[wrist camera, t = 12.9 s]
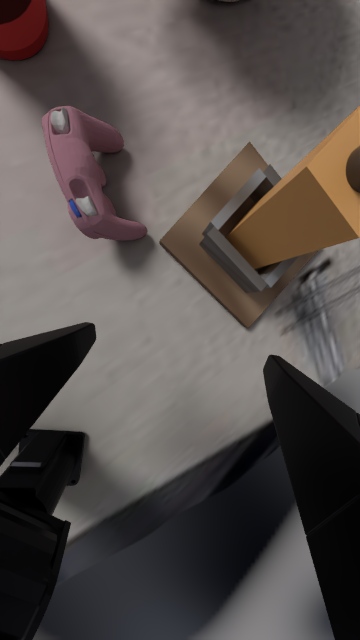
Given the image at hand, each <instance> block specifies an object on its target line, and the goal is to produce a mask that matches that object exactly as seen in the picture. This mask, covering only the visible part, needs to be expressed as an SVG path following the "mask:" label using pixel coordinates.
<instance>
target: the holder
mask: <svg viewBox="0 0 360 640" xmlns="http://www.w3.org/2000/svg"><path fill="white" fill-rule="evenodd" d="M280 180H281V178H280V176H279V175H278V174H277V172H276V171H275V170H274V169H273V167H272V166H271V165H269V166H268V165H267V163H266V162H265V161H264V160H263V158H262V157H261V156H260V154H259V153H258V152H257V151H256V149H255V148H254V147H253V145H252V144H251V143H250V142H249V143H248V144H247V145H246V146H245V147H244V148H243V149H242V150H241V152H240V153H239V154H238V155H237V156H236V157H235V158H234V159H233V160H232V162H231V163H230V164H229V165H228V166H227V167H226V168H225V169H224V170H223V171H222V173H221V174H220V175H219V176H218V177H217V178H216V179H215V180H214V181H213V182H212V184H211V185H210V186H209V187H208V188H207V189H206V190H205V191H204V192H203V194H202V195H201V196H200V197H199V198H198V199H197V200H196V201H195V202H194V203H193V205H192V206H191V207H190V208H189V209H188V210H187V211H186V212H185V213H184V215H183V216H182V217H181V218H180V219H179V220H178V221H177V222H176V223H175V224H174V226H173V227H172V228H171V229H170V230H169V231H168V232H167V233H166V234H165V236H164V237H163V238H162V239H161V240H160V245H161V246H162V247H163V248H165V249H166V250H167V251H168V252H169V253H170V254H171V255H172V256H173V257H174V258H175V259H176V260H177V261H178V262H179V263H180V264H181V265H182V266H183V267H184V268H185V269H186V270H187V271H188V272H189V273H190V274H191V275H192V276H193V277H194V278H195V279H196V280H197V281H198V282H199V283H200V284H201V285H202V286H203V287H204V288H205V289H206V290H207V291H208V292H209V293H210V294H211V295H212V296H213V297H214V298H215V299H216V300H217V301H218V302H219V303H220V304H221V305H222V306H223V307H224V308H226V309H227V310H228V311H229V312H230V313H231V314H232V315H233V316H234V317H235V318H236V319H237V320H238V321H239V322H240V323H241V324H242V325H243V326H244V327H246V328H249V327H250V326H251V325H252V323H253V322H254V321H255V320H256V319H257V318H258V317H259V316H260V315H261V313H262V312H263V311H264V310H265V309H266V308H267V307H268V306H269V305H270V303H271V302H272V301H273V300H274V299H275V298H276V297H277V296H278V295H279V293H280V292H281V291H282V290H283V289H284V288H285V287H286V286H287V285H288V283H289V282H290V281H291V280H292V279H293V278H294V277H295V276H296V275H297V273H298V272H299V271H300V270H301V269H302V268H303V267H304V266H305V265H306V263H307V262H308V261H309V260H310V259H311V258H312V257H313V256H314V255H315V253H316V252H317V251H318V250H316V251H313V252H310V253H306V254H303V255H300V256H296V257H293V258H290V259H286V260H283V261H280V262H276V263H273V264H270V265H266V266H263V267H260V268H256V269H253V268H252V266H251V265H250V264H249V263H248V262H247V261H246V260H245V259H244V258H243V257H242V256H241V254H240V253H239V252H238V251H237V250H236V249H235V248H234V247H233V246H232V245H231V244H230V243H229V241H228V240H227V239H226V238H225V236H226V235H227V234H228V233H229V232H230V231H231V230H232V229H233V228H234V226H235V225H236V224H237V223H238V222H239V221H240V220H241V219H242V218H243V216H244V215H245V214H246V213H247V212H248V211H249V210H250V209H251V208H252V207H253V206H254V205H255V204H256V203H257V202H258V201H259V200H260V199H261V198H262V197H263V196H265V195H266V194H267V193H268V192H269V191H270V190H271V189H272V188H273V187H274V186H275V185H276V184H277V183H278V182H279V181H280Z"/></svg>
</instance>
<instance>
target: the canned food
mask: <svg viewBox="0 0 360 640" xmlns="http://www.w3.org/2000/svg"><path fill="white" fill-rule="evenodd" d="M48 27H49V22H48V14H47V8H46V3H45V0H0V58H2V59H8V60H23V59H26V58H29V57H31V56H33V55H35V54H36V53H37V52H38V51H39V50H40V49H41V48H42V46H43V45H44V43H45V41H46V38H47V35H48Z"/></svg>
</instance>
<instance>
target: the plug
mask: <svg viewBox="0 0 360 640" xmlns="http://www.w3.org/2000/svg"><path fill="white" fill-rule="evenodd" d="M359 237H360V106H359V107H358V108H357V109H355V110H354V111H353V112H352V113H351V114H350V115H349V116H348V117H347V118H346V119H345V120H344V121H343V122H342V123H341V124H340V125H339V126H338V127H336V128H335V129H334V130H333V131H332V132H331V133H330V134H329V135H328V136H327V137H326V138H325V139H324V140H323V141H322V142H321V143H320V144H318V145H317V146H316V147H315V148H314V149H313V150H312V151H311V152H310V153H309V154H308V155H307V156H306V157H305V158H304V159H303V160H302V161H300V162H299V163H298V164H297V165H296V166H295V167H294V168H293V169H292V170H291V171H290V172H289V173H288V174H287V175H286V176H285V177H284V178H283V179H281V180H280V181H279V182H278V183H277V184H276V185H275V186H274V187H273V188H272V189H271V190H270V191H269V192H268V193H267V194H266V195H265V196H263V197H262V198H261V199H260V200H259V201H258V202H257V203H256V204H255V205H254V206H253V207H252V208H251V209H250V210H249V211H248V212H247V213H246V214H245V215H244V216H243V218H242V219H241V220H240V221H239V222H238V223H237V224H236V225H235V226H234V228H233V229H232V230H231V231H230V232H229V233H228V234H227V235H226V236H225V238H226V239H227V240H228V241H229V243H230V244H231V245H232V246H233V247H234V248H235V249H236V250H237V251H238V252H239V253H240V254H241V256H242V257H243V258H244V259H245V260H246V261H247V262H248V263H249V264H250V265H251V266H252V268H253V269H256V268H260V267H263V266H266V265H270V264H273V263H276V262H280V261H283V260H286V259H290V258H293V257H296V256H300V255H303V254H306V253H310V252H313V251H316V250H320V249H323V248H326V247H330V246H333V245H336V244H340V243H343V242H346V241H350V240H353V239H356V238H359Z"/></svg>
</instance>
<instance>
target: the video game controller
mask: <svg viewBox="0 0 360 640" xmlns="http://www.w3.org/2000/svg"><path fill="white" fill-rule="evenodd" d="M42 128H43V130H44V133H45V142H46V147H47V151H48V155H49V158H50V162H51V165H52V168H53V170H54V173H55V176H56V178H57V181H58V183H59V185H60V188H61V190H62V192H63V194H64V196H65V198H66V200H67V202H68V210H69V214H70V216H71V219H72V220H73V222H74V223H75V225H76V226H77V228H78V229H79V230H80V231H81V232H82V233H83V234H85V235H86V236H88V237H90V238H93V239H98V238H105V239H112V240H135V239H140V238H142V237H143V236H145V234H146V233H147V228H146V227H145V226H144V225H142V224H141V223H139V222H134V221H130V220H125V219H122V218H119V217H116V212H115V209H114V207H113V205H112V203H111V201H110V200H109V198H108V197H107V196H105V195H104V194H103V191H102V188H101V187H103V186H105V185H106V177H105V174H104V172H103V170H102V168H101V167H100V165H99V164H98V162H97V161H96V160H95V158H94V156H93V154H92V152H91V151H97V152H104V153H114V152H118V151H120V150H121V149H122V148H123V145H124V141H123V138H122V136H121V134H120V133H119V132H118V131H117V130H116V129H115V128H114V127H113V126H111V125H109V124H107V123H105V122H103V121H101V120H98V119H96V118H94V117H91V116H89V115H87V114H85V113H84V112H82V111H80V110H78V109H76V108H74V107H72V106H60V107H55V108H53V109H51V110H50V111H49V112H48V113H47V114H45V115H44V116H43V118H42Z"/></svg>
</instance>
